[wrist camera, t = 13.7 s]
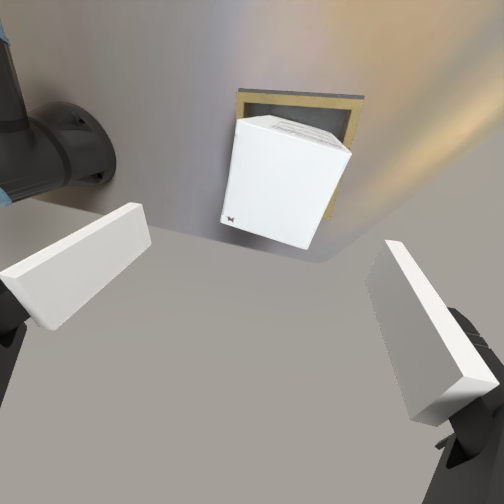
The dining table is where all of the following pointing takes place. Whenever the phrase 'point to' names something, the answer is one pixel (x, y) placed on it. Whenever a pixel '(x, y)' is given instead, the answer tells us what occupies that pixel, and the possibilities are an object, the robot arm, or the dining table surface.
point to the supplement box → (281, 178)
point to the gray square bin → (306, 114)
